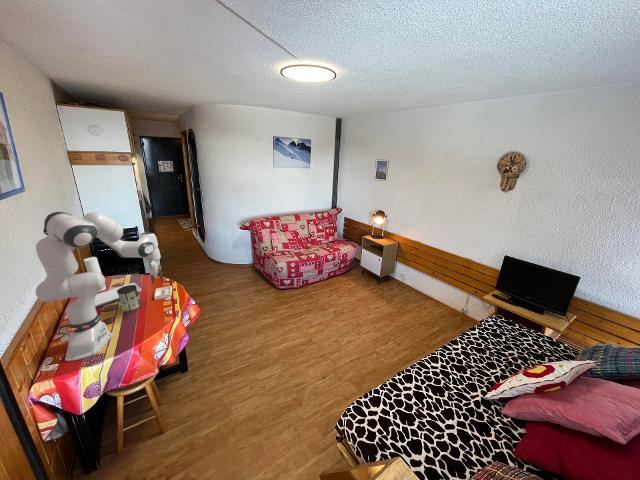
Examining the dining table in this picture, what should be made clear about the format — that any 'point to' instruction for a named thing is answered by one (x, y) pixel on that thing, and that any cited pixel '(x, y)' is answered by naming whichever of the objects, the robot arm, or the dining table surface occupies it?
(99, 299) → the tray
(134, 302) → the coffee can
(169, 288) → the cream tray
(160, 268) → the brown open box frame
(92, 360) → the dining table surface
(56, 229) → the robot arm
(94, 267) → the cylindrical container
